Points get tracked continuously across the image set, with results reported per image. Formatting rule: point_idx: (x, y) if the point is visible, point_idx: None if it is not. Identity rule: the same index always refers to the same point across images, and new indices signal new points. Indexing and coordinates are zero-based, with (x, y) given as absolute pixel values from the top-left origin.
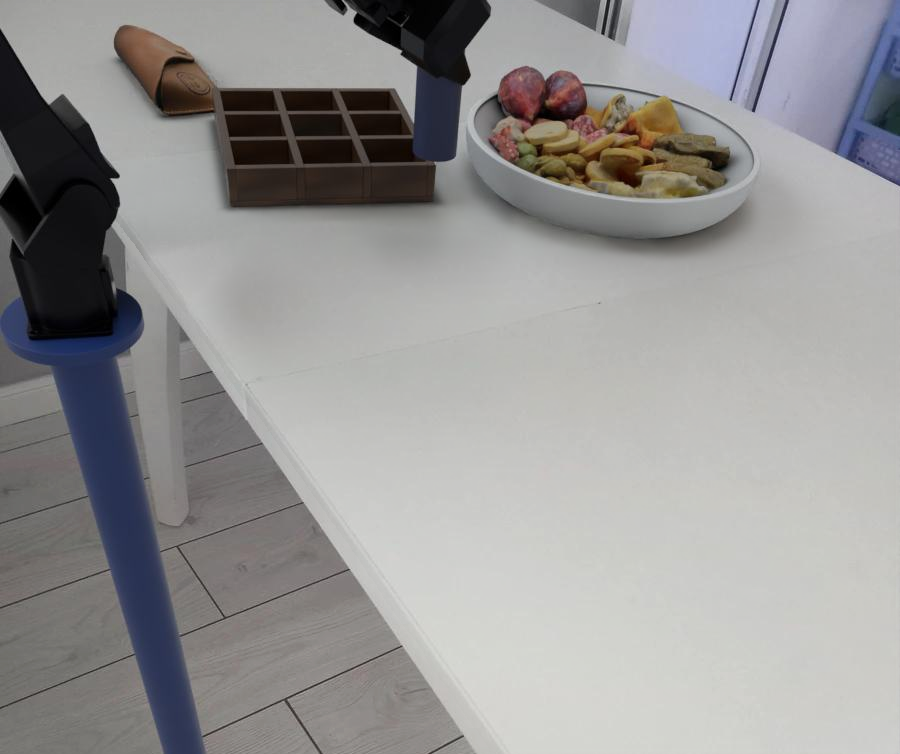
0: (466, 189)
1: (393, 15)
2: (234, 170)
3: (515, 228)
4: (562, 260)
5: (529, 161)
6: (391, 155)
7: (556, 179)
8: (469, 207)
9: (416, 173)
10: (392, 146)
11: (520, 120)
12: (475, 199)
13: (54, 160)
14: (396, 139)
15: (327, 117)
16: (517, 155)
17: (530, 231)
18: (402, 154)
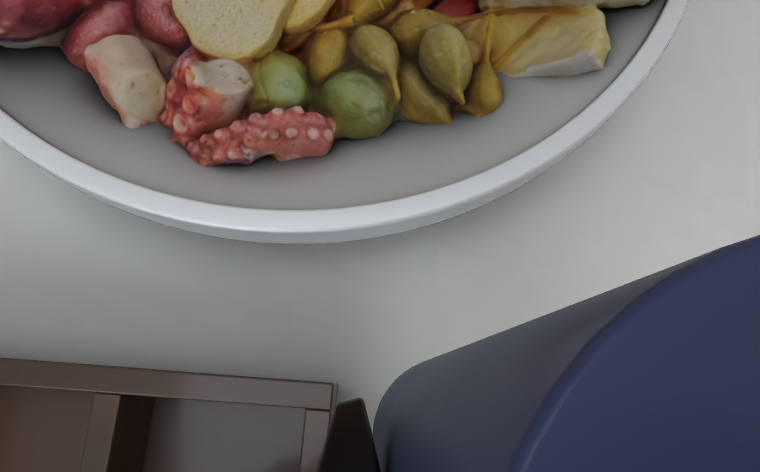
0: (282, 269)
1: None
2: None
3: (505, 220)
4: (661, 171)
5: (376, 104)
6: (127, 467)
7: (489, 75)
8: (383, 296)
9: None
10: (118, 469)
11: (89, 23)
12: (342, 265)
13: None
14: (111, 458)
15: None
16: (324, 120)
17: (523, 191)
18: (133, 429)
